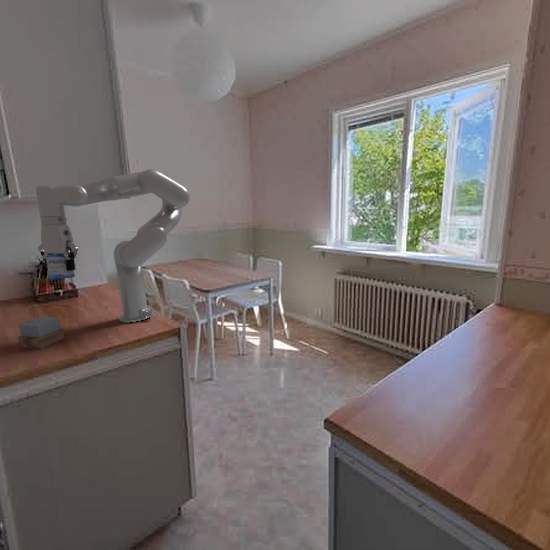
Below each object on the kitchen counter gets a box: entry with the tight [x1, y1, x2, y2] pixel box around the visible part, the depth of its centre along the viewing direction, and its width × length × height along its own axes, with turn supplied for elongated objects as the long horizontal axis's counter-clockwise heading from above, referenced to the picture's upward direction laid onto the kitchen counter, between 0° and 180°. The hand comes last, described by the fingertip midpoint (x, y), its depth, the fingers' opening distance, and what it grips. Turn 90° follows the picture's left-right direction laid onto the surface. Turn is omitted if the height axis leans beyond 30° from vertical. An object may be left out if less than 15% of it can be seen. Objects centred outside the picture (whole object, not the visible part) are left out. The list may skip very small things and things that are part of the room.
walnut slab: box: [18, 328, 65, 350], centre depth 117 cm, size 9×9×4 cm
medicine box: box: [46, 254, 76, 281], centre depth 123 cm, size 8×4×9 cm, turn 118°
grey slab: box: [18, 316, 62, 337], centre depth 117 cm, size 8×8×4 cm
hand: (61, 269), depth 123 cm, fingers closed on medicine box, 8 cm apart
